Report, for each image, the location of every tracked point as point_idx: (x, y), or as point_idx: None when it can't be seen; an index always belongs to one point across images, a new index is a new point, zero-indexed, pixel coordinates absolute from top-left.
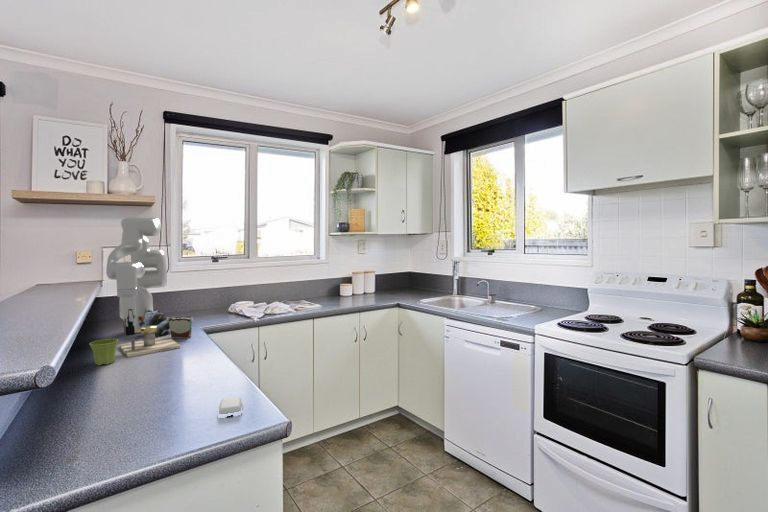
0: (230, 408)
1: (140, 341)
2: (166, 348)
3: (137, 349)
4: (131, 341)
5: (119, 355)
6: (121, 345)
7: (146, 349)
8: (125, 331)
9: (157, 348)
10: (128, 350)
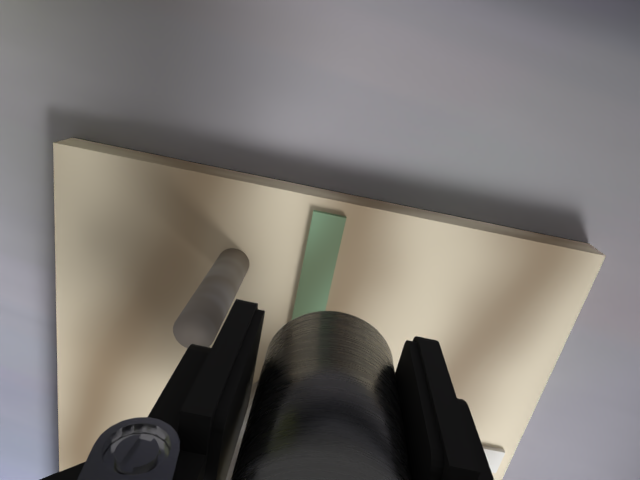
0: None
1: (519, 427)
2: (64, 445)
3: (193, 285)
4: (201, 293)
5: (222, 110)
6: (542, 253)
7: (120, 334)
8: (305, 348)
9: (83, 401)
10: (228, 215)
